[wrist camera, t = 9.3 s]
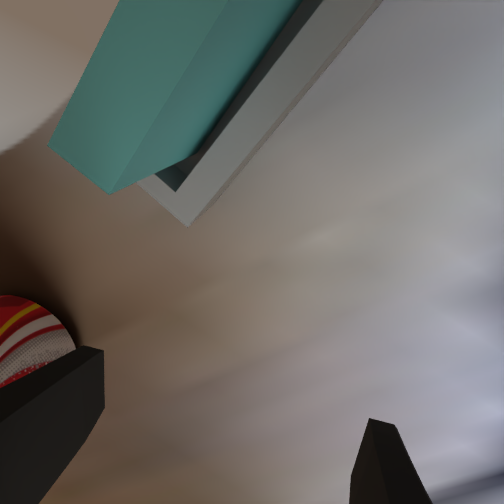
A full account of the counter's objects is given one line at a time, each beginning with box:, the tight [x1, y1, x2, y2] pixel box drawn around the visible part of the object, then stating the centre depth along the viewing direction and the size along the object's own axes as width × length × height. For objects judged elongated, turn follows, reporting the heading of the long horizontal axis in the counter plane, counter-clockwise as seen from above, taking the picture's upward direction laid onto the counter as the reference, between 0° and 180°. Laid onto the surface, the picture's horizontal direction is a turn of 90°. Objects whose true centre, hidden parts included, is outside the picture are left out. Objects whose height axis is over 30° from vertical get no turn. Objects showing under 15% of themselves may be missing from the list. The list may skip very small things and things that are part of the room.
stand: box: [136, 0, 383, 228], centre depth 15 cm, size 6×12×3 cm, turn 140°
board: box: [47, 0, 303, 195], centre depth 12 cm, size 2×9×7 cm, turn 143°
